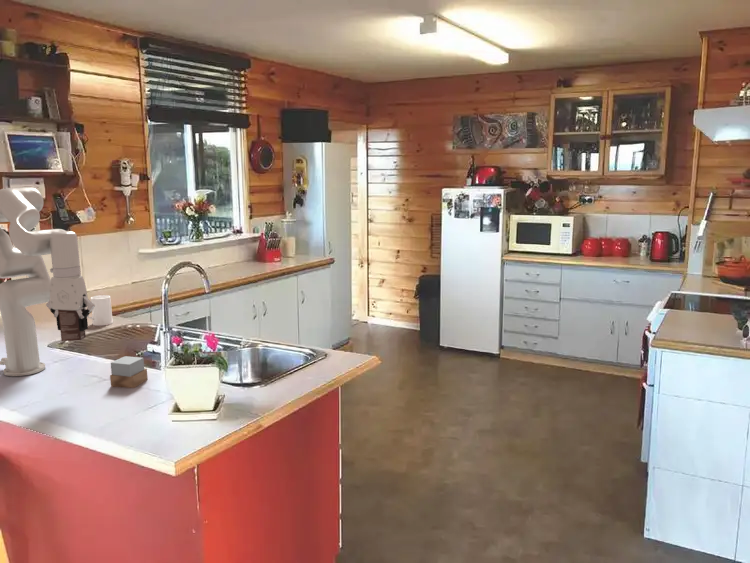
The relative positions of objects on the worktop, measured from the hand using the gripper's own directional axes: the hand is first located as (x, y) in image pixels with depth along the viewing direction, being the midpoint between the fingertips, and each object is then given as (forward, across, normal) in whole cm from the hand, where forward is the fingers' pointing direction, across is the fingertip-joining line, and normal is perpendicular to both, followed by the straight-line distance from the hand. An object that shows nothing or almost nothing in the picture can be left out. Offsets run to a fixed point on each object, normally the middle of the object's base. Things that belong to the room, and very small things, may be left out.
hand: (72, 329), depth 194 cm
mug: (+20, -44, +75) cm, 89 cm away
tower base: (+20, +13, +8) cm, 25 cm away
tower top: (+16, +12, +8) cm, 22 cm away
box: (+3, 0, 0) cm, 3 cm away
